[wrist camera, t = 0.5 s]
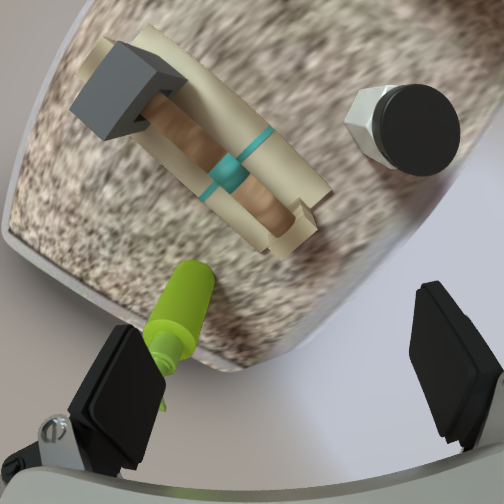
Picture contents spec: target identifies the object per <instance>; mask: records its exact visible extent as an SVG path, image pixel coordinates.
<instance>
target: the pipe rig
mask: <svg viewBox="0 0 504 504" xmlns="http://www.w3.org/2000/svg"><path fill="white" fill-rule="evenodd" d="M116 42H117V41H115V40H112V39H109V38H106V37H102V38H101V39H100V41H99V42H98V43H97V45H96V46H95V47H94V49H93V50H92V51H91V53H90V54H89V55H88V57H87V58H86V60H85V61H84V62H83V64H82V65H81V67H80V68H79V70H78V71H77V72H76V74H75V75H76V76H77V77H78V78H79V79H80V80H82V81H83V82H84V83H85V84H86V83H87V81H88V80H89V78H90V77H91V75H92V74H93V73H94V71H95V70H96V68H97V67H98V66H99V64H100V63H101V62H102V60H103V59H104V58H105V56H106V55H107V54H108V53H109V51H110V50H111V49H112V47H113V46H114V45H115V44H116ZM130 45H132V46H135V47H138V48H141V49H143V50H146V51H149V52H151V53H154V54H156V55H158V56H159V57H161V58H162V59H163V60H164V61H166V62H167V63H168V64H169V65H171V66H172V67H173V68H174V69H176V70H177V71H178V72H179V73H180V74H182V75H183V76H184V77H185V78H186V79H188V81H187V82H186V83H185V84H184V85H183V87H182V88H181V89H180V90H179V91H178V92H177V93H176V94H175V96H174V97H173V98H172V99H171V100H169V99H168V98H167V97H166V96H165V95H163V94H162V93H161V92H160V91H159V90H158V92H157V93H156V94H155V95H154V96H153V98H152V99H151V100H150V101H149V102H148V104H147V105H146V106H145V107H144V109H143V110H142V111H141V112H140V114H141V115H142V116H143V117H144V118H145V119H146V120H148V121H149V122H150V123H151V124H150V125H149V127H148V128H147V129H146V130H145V131H141V132H137V133H133V134H129V135H130V136H131V137H132V138H133V139H134V140H135V141H136V142H137V143H138V144H140V145H141V146H142V147H143V148H144V149H145V150H146V151H147V152H149V153H150V154H151V155H152V156H153V157H154V158H155V159H156V160H157V161H159V162H160V163H161V164H162V165H163V166H164V167H165V168H166V169H167V170H169V171H170V172H171V173H172V174H173V175H174V176H175V177H176V178H177V179H178V180H180V181H181V182H182V183H183V184H184V185H185V186H186V187H187V188H188V189H190V190H191V191H192V192H193V193H194V194H195V195H196V196H197V197H198V198H199V199H200V200H201V201H202V202H204V203H205V204H206V205H207V206H208V207H210V208H211V209H212V210H213V211H214V212H215V213H216V214H217V215H218V216H219V217H221V218H222V219H223V220H224V221H225V222H226V223H227V224H228V225H229V226H230V227H232V228H233V229H234V230H235V231H236V232H237V233H238V234H239V235H240V236H242V237H243V238H244V239H245V240H246V241H247V242H248V243H249V244H250V245H251V246H253V247H254V248H255V249H256V250H257V251H258V252H259V253H261V252H262V251H263V250H265V249H266V248H267V247H268V249H269V250H270V251H272V252H273V253H274V254H275V255H276V256H277V257H278V258H279V259H280V260H281V261H282V260H283V259H284V258H285V257H287V256H288V255H289V254H290V253H291V252H292V251H294V250H295V249H296V248H297V247H298V246H299V245H301V244H302V243H303V242H304V241H305V240H306V239H307V238H309V237H310V236H311V235H312V234H313V233H314V232H316V231H317V230H318V229H317V226H316V223H315V220H314V218H313V215H312V212H311V208H312V207H313V206H314V205H315V204H316V203H317V202H318V201H320V200H321V199H322V198H323V197H324V196H325V195H326V194H327V193H328V192H330V191H331V190H332V189H331V187H330V186H329V185H328V184H327V183H326V182H325V181H324V180H323V179H322V178H321V177H320V175H319V174H318V173H317V172H316V171H315V170H314V169H313V168H312V167H311V166H310V165H309V164H308V163H307V162H306V161H305V160H304V159H303V158H302V157H301V156H300V155H299V154H298V153H297V152H296V151H295V150H294V149H293V148H292V147H291V146H290V145H289V144H288V143H287V142H286V141H285V140H284V139H283V138H282V137H281V136H280V135H279V134H278V133H277V132H276V131H275V130H274V129H273V128H272V127H271V126H270V125H269V124H268V123H267V122H266V121H265V120H264V119H263V118H262V117H261V116H260V115H258V114H257V113H256V112H255V111H254V110H253V109H252V108H251V107H250V106H249V105H248V104H247V103H245V102H244V101H243V100H242V99H241V98H240V97H239V96H238V95H237V94H235V93H234V92H233V91H232V90H231V89H230V88H229V87H228V86H226V85H225V84H224V83H223V82H222V81H221V80H219V79H218V78H217V77H216V76H215V75H214V74H212V73H211V72H210V71H209V70H208V69H206V68H205V67H204V66H203V65H202V64H200V63H199V62H198V61H197V60H196V59H194V58H193V57H192V56H191V55H189V54H188V53H187V52H186V51H184V50H183V49H182V48H181V47H179V46H178V45H177V44H175V43H174V42H173V41H172V40H170V39H169V38H168V37H166V36H165V35H164V34H162V33H161V32H160V31H158V30H157V29H156V28H154V27H153V26H151V25H150V24H147V26H146V27H145V28H144V29H143V30H142V31H141V32H140V33H139V35H138V36H137V37H136V38H135V39H134V40H133V42H132V43H131V44H130Z"/></svg>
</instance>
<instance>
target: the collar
mask: <svg viewBox="0 0 504 504" xmlns="http://www.w3.org/2000/svg"><path fill="white" fill-rule="evenodd" d="M187 81H188V79H186V78H185V77H184V76H183V75H182V74H180V73H179V72H178V71H177V70H176V69H174V68H173V67H172V66H171V65H169V64H168V63H167V62H166V61H164V60H163V59H162V58H161V57H159V56H158V55H156V54H154V53H151V52H149V51H146V50H143V49H141V48H138V47H135V46H132V45H130V44H127V43H124V42H121V41H117V42H116V44H115V45H114V46H113V47H112V49H111V50H110V51H109V53H108V54H107V55H106V56H105V58H104V59H103V60H102V62H101V63H100V64H99V66H98V67H97V68H96V70H95V71H94V73H93V74H92V75H91V77H90V78H89V80H88V81H87V83H86V84H85V86H84V87H83V89H82V90H81V92H80V93H79V95H78V96H77V98H76V99H75V101H74V102H73V104H72V106H71V107H70V109H69V110H70V111H71V112H72V113H73V114H75V115H76V116H77V117H78V118H79V119H80V120H81V121H82V122H83V123H84V124H85V125H86V126H87V127H89V128H90V129H91V130H92V131H93V132H94V133H95V134H96V135H97V136H98V137H99V138H100V139H102V140H103V141H106V140H110V139H114V138H117V137H121V136H125V135H129V134H133V133H137V132H141V131H145V130H146V129H147V128H148V127H149V125H150V124H151V123H150V122H149V121H148V120H146V119H145V118H144V117H143V116H142V115H141V114H140V112H141V111H142V110H143V109H144V107H145V106H146V105H147V104H148V102H149V101H150V100H151V99H152V98H153V96H154V95H155V94H156V93H157V92H158V90H159V91H160V92H161V93H162V94H163V95H165V96H166V97H167V98H168V99H169V100H171V99H172V98H173V97H174V96H175V94H176V93H177V92H178V91H179V90H180V89H181V88H182V87H183V85H184V84H185V83H186V82H187Z"/></svg>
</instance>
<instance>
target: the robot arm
mask: <svg viewBox="0 0 504 504" xmlns="http://www.w3.org/2000/svg"><path fill="white" fill-rule="evenodd" d="M409 356H410V360H411V363H412V365H413V367H414V370H415V372H416V374H417V377H418V380H419V382H420V385H421V387H422V389H423V392H424V394H425V397H426V400H427V402H428V405H429V408H430V410H431V413H432V416H433V419H434V421H435V424H436V427H437V430H438V433H439V435H440V436H441V437H445V439H446V442H447V444H449V443H451V442H455V441H457V440H459V443H460V446H461V447H462V449H461V451H460V454H457V455H454V456H451V457H448V458H445V459H442V460H438V461H436V462H432V463H429V464H425V465H422V466H418V467H415V468H411V469H407V470H403V471H399V472H395V473H391V474H387V475H383V476H379V477H374V478H368V479H363V480H358V481H352V482H346V483H340V484H333V485H326V486H317V487H308V488H298V489H285V490H284V489H283V490H260V491H229V490H228V491H227V490H206V489H192V488H181V487H171V486H163V485H156V484H149V483H143V482H137V481H131V480H126V479H123V477H122V475H121V473H120V469H121V467H123V468H125V469H131V470H136V469H137V466H138V463H141V462H142V460H143V457H144V454H145V451H146V448H147V444H148V441H149V438H150V435H151V432H152V428H153V425H154V422H155V419H156V416H157V413H158V410H159V407H160V404H161V401H162V398H163V395H164V391H165V388H166V382H165V379H164V377H163V375H162V374H161V372H160V370H159V368H158V366H157V365H156V363H155V361H154V359H153V357H152V355H151V353H150V351H149V349H148V347H147V346H146V344H145V342H144V340H143V338H142V336H141V334H140V332H139V330H138V329H137V328H134V326H133V325H131V324H128V325H117V326H116V327H115V328H114V329H113V331H112V333H111V334H110V336H109V337H108V339H107V341H106V342H105V344H104V346H103V347H102V349H101V351H100V352H99V354H98V356H97V358H96V359H95V361H94V363H93V364H92V366H91V368H90V370H89V371H88V373H87V375H86V377H85V378H84V381H83V382H82V384H81V386H80V388H79V389H78V391H77V393H76V395H75V396H74V398H73V400H72V402H71V404H70V406H69V408H68V412H69V413H70V414H71V415H70V417H69V418H68V417H67V416H66V415H63V414H55V415H52V416H50V417H49V418H47V419H46V420H45V421H44V422H43V423H42V424H41V426H40V428H39V431H38V441H37V442H35V443H33V444H31V445H29V446H27V447H26V448H23V449H21V450H19V451H17V452H16V453H14V454H12V455H10V456H9V457H8V458H7V459H6V460H5V461H4V463H3V465H2V469H1V475H2V476H1V475H0V504H504V370H503V368H502V367H501V365H500V364H499V362H498V361H497V359H496V357H495V356H494V354H493V353H492V351H491V350H490V348H489V346H488V345H487V343H486V342H485V340H484V339H483V337H482V336H481V334H480V333H479V332H478V330H477V329H476V327H475V326H474V324H473V323H472V322H471V320H470V319H469V318H468V317H467V316H466V315H464V313H463V312H462V311H461V309H460V308H459V307H458V305H457V304H456V303H455V301H454V300H453V298H452V297H451V296H450V294H449V293H448V292H447V290H446V289H445V288H444V287H443V285H442V284H441V283H440V282H439V281H433V282H428V283H423V284H422V285H421V288H420V289H418V290H417V291H416V300H415V308H414V317H413V325H412V333H411V340H410V347H409Z"/></svg>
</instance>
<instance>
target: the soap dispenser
mask: <svg viewBox="0 0 504 504" xmlns="http://www.w3.org/2000/svg"><path fill="white" fill-rule="evenodd" d="M214 285H215V277H214V274H213V272H212V270H211V269H210V268H209V267H208V266H207V265H206V264H204V263H202V262H200V261H196V260H187V261H184V262H182V263H180V264H179V265H178V266H177V267H176V269H175V271H174V272H173V274H172V276H171V278H170V280H169V282H168V283H167V285H166V287H165V289H164V291H163V293H162V295H161V297H160V298H159V300H158V302H157V304H156V306H155V308H154V310H153V312H152V314H151V316H150V318H149V319H148V321H147V323H146V325H145V327H144V330H143V339H144V342H145V344H146V345H147V347H148V349H149V351H150V353H151V355H152V357H153V359H154V361H155V363H156V365H157V366H158V368H159V370H160V372H161V374H162V375H163V377H164V376H167V375H171V374H173V373H174V372H175V370H176V368H177V365H178V362H179V360H184V359H187V358H189V357H190V356H191V355H192V354H193V353H194V351H195V348H196V345H197V341H198V338H199V335H200V331H201V328H202V325H203V321H204V318H205V314H206V311H207V308H208V304H209V301H210V298H211V295H212V291H213V288H214ZM159 411H164V412H166V405H165V402H164V399H163V398H162V401H161V404H160V407H159Z"/></svg>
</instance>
